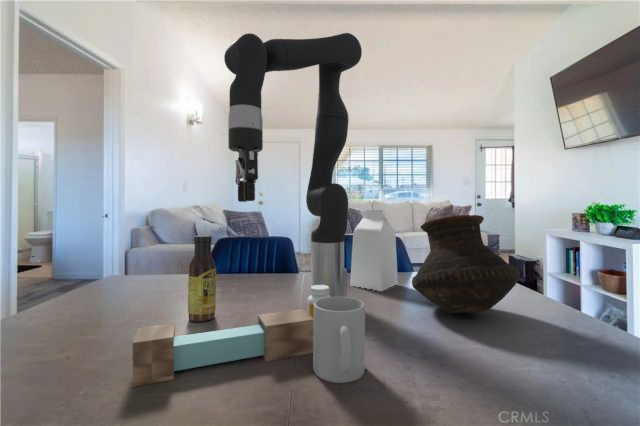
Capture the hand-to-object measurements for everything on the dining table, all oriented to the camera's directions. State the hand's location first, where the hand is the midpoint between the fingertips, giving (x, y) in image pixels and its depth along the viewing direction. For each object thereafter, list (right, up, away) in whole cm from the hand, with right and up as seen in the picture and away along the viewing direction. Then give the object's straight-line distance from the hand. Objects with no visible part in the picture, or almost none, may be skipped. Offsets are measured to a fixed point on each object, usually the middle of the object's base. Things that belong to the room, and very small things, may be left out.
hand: (245, 201), depth 72 cm
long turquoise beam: (-1, -28, -17) cm, 33 cm away
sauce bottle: (-11, -28, +4) cm, 31 cm away
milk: (+35, -28, +37) cm, 58 cm away
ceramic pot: (+52, -28, +8) cm, 60 cm away
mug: (+20, -29, -21) cm, 41 cm away
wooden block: (+10, -28, -12) cm, 33 cm away
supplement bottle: (+17, -28, -3) cm, 33 cm away
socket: (-10, -28, -21) cm, 37 cm away
